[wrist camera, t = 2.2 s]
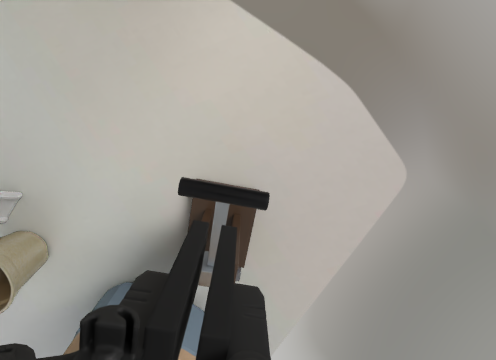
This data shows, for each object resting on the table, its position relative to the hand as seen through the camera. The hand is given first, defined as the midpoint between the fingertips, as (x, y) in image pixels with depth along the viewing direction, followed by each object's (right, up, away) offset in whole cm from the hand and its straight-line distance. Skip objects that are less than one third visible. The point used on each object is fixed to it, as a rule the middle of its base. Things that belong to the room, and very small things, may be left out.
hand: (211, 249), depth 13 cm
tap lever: (-1, -1, +13) cm, 13 cm away
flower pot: (-31, -7, +28) cm, 42 cm away
